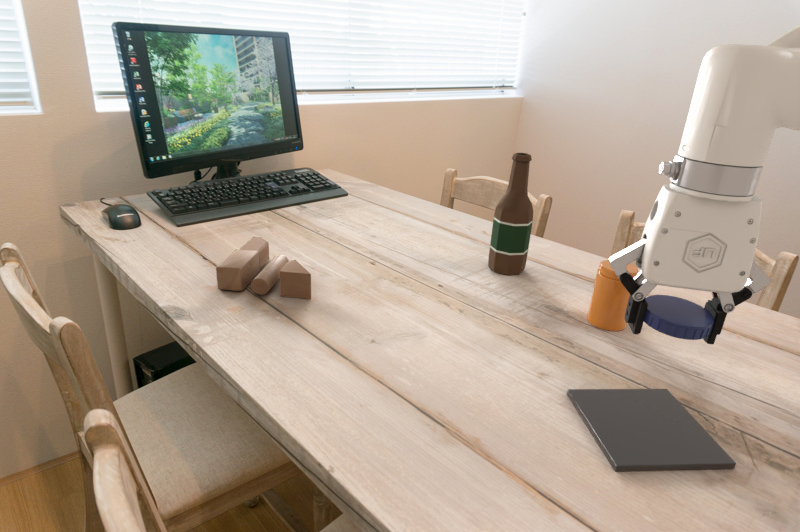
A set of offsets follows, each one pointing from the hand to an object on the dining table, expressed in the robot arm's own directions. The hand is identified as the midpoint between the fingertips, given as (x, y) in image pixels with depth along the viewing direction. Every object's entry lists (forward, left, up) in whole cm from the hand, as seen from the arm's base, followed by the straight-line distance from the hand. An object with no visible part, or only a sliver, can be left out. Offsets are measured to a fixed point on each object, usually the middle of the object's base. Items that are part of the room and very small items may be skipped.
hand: (669, 332), depth 60 cm
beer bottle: (+16, -48, -14) cm, 52 cm away
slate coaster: (0, 0, -13) cm, 13 cm away
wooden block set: (+59, -30, -14) cm, 67 cm away
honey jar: (-1, -29, -13) cm, 32 cm away
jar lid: (0, +1, +3) cm, 3 cm away
